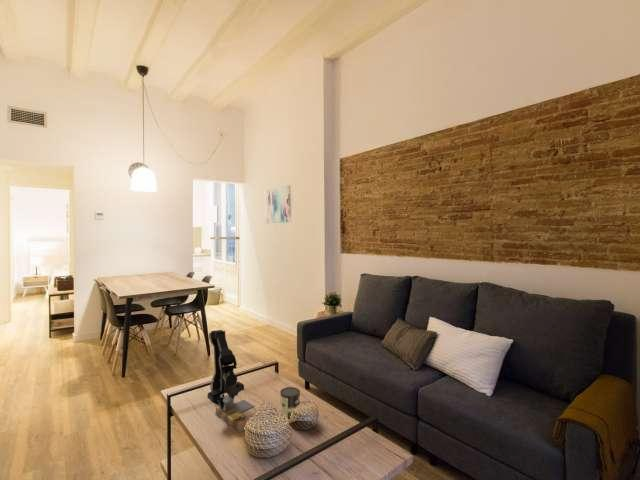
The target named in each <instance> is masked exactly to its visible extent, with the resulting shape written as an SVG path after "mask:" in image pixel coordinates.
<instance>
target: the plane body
mask: <svg viewBox="0 0 640 480" xmlns="http://www.w3.org/2000/svg"><path fill="white" fill-rule="evenodd" d="M236 412H238V413H240V414H241V415H243V416H244V417H243V418H239V419H236V420H231V419H229V418H228V415H230V414H234V413H236ZM214 415H215V416H216V417H217V418H219V419H221V420H222V421H223V422H225V423H226V424H228V425H229V426H230V427H232V428H233V429H235V430H236V431H237V432H239V433H242V432H244V431H245V430H244V427H245V425H246V423H247V421H248V420H249V418H250V417H249V416H247V415H245V414H244V413H243V412H242V413H241V412H239V411H238V410H236V409H232V410H230V411H227V412H224V411H222V410H221V409H219V405H218V406H215V414H214Z"/></svg>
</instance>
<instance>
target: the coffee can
mask: <svg viewBox="0 0 640 480" xmlns="http://www.w3.org/2000/svg"><path fill="white" fill-rule="evenodd" d="M279 393H280V394H279V395H280V397H279V398H280V403H279V412H280V411H282V412H283V413H284V414H285V415H286V416H287V418H288V419H290V416H291V413H292V411H293V410H294V409H295V408H296V407H297V406H298V405H299V404H300V401H301V400H300V399H301V398H300V397H301V396H300V395H301V390H300V389H299V388H297V387H295V386H289V387H284V388H282V389H280V392H279Z"/></svg>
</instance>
